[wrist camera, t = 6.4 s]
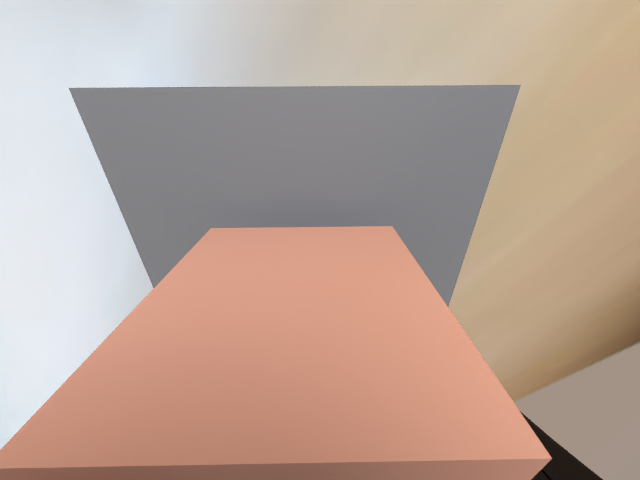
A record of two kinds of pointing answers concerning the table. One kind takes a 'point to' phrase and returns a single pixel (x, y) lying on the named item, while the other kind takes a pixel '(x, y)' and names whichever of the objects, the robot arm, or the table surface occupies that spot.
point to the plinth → (300, 162)
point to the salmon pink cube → (283, 375)
